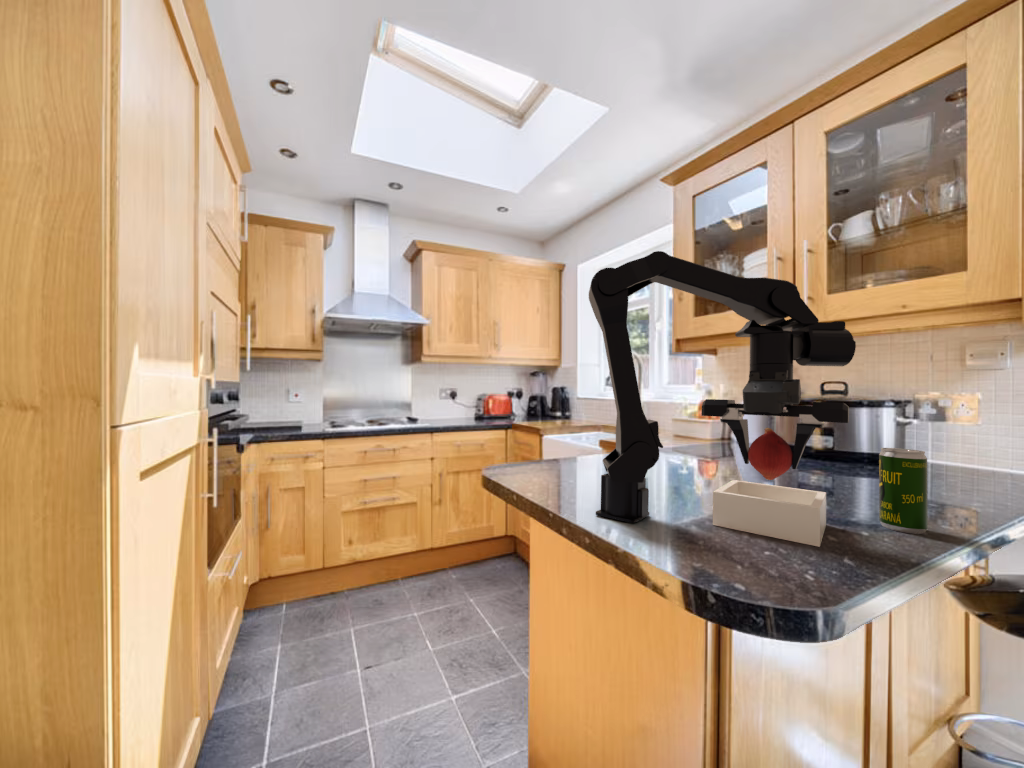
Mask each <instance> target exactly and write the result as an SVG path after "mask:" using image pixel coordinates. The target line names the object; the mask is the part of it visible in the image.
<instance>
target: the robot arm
mask: <svg viewBox="0 0 1024 768" xmlns="http://www.w3.org/2000/svg"><path fill="white" fill-rule="evenodd" d="M653 283H656V284H661V285H663V286H666V287H669V288H672V289H676V290H678V291H682V292H685V293H688V294H691V295H695V296H697V297H701V298H703V299H707V300H710V301H714V302H716V303H720V304H723V305H724V306H726V307H728V308H729V309H731V310H732V311H733V312H734V313H735V314H736V315H738V316H740V317H742V318H744V319H745V320H747V321H746V323H745V324H744V326H743V327H742V328H740V329H739V330H738V331H737V332H735V333H734V334H735V337H736V338H749V373H748V380H747V383H746V384H745V386H744V387H743V389H742V401H743V403H736V400H735V399H713V398H712V399H710V398H706V399H704V401H702V403H701V416H703V417H721V418H720V423H726V424H727V426H728V427H729V428H730V430H731V432H732V434H733V435H734V437H735V440H736V443H737V445H738V447H739V451H740V454H741V455H742V459H743V462H744V464H745V465H748V464H750V461H749V459H748V451H749V448H750V438H749V423H748V422H749V421H748V419H747V418H744V417H745V415H747V416H768V417H769V416H770V417H771V416H772V417H786V418H787V417H789V418H790V417H791V418H792V417H793V418H799V420H800V422H798V423H796V431H795V439H794V446H793V450H792V453H793V458H792V466H791V468H792V470H797V468H798V466H799V463H800V462H801V461H800V460H801V457H802V456H803V453H804V450H805V448H806V446H807V444H808V441H809V440H810V438H811V437H812V435H813V433H814V431H815V430H816V429H823V428H825V423H840V424H848V423H849V422H850V410H849V409H850V407H849V406H848V405H847V404H846V403H844V402H838V401H837V402H836V401H835V402H831V401H829V402H828V401H827V402H826V401H812V405H799V404H801V403H800V402H801V400H802V388H801V379H799V378H798V379H796V378H794V361H795V362H796V363H797V365H799V366H805V367H807V366H808V367H845V366H847V365H848V364H850V362H851V361H852V360H853V358H854V356H855V353H856V348H857V343H856V340H855V339H854V336H853V334H852V333H851V332H850V331H849V329H847V328H846V321H843V320H835V321H829V322H827V321H826V322H825V321H824V322H819V321H820V320H819V317H817V316H816V314H814V312H813V311H812V309H810V308H809V306H808V305H807V303H806V302H805V301H804V300H803V299H802V297H801V293H800V291H799V290H798V286H797V285H796V284H794V283H793V282H791V281H789V280H786V279H776V278H769V277H743V276H738V275H734V274H731V273H728V272H724V271H721V270H718V269H714V268H711V267H708V266H705V265H702V264H699V263H695V262H692V261H688V260H685V259H682V258H679V257H676V256H672V255H670V254H668V253H667V252H665V251H659V250H656V251H652V253H650V254H648V255H645V256H644V257H640V258H637V259H634V260H631V261H627V262H626V263H623V264H621V265H620V266H617V267H615V268H614V267H605V268H602V269H600V270H598V271H597V272H596V273H595V274H594V275H593V277H592V279H591V282H590V287H589V290H588V301H589V303H590V307H591V308H592V312H593V314H594V316H595V319H596V321H597V323H598V326H599V327H600V329H601V332H602V336H603V342H604V347H605V353H606V359H607V363H608V371H609V377H610V381H611V387H612V388H611V389H612V393H613V399H614V404H615V409H616V421H615V447H614V449H613V450H612V451H611V452H609V453H608V454H607V455H606V456H605V457H604V458H603V459H602V463H603V467H604V469H605V472H606V473H603V474H601V476H600V509H598V510H595V515H596V516H599V517H603V518H606V519H607V518H608V519H611V520H617V521H620V522H626V523H630V524H635V523H637V522H639V521H641V520H643V519H644V518H647V517H649V516H650V511H649V497H650V496H649V495H650V494H649V491H650V490H649V488H648V487H646V485H647V478H646V477H647V473H648V470H650V469H652V468H653V467H654V466H655V465H656V464H657V463H658V461H659V459H660V449H663V448H664V446H663V443H662V442H661V440H660V435H659V423H658V421H657V420H653V419H650V418H649V419H648V418H647V416H646V414H645V413H644V409H643V406H642V401H641V395H640V390H639V385H638V379H637V372H636V369H635V362H634V357H633V353H632V352H633V351H632V346H631V341H630V335H629V330H628V324H627V323H628V313H629V311H628V310H629V297H630V296H633V295H634V294H635V293H638V292H639V291H641V290H642V289H644V288H646V287H648V286H650V285H652V284H653ZM786 318H789V319H786ZM784 408H785V409H784Z"/></svg>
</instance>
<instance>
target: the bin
mask: <svg viewBox="0 0 1024 768" xmlns="http://www.w3.org/2000/svg"><path fill="white" fill-rule="evenodd" d="M712 525H713V526H716V527H722V528H726V529H732V530H736V531H741V532H746V533H752V534H756V535H760V536H765V537H771V538H776V539H780V540H784V541H785V540H786V541H790V542H795V543H800V544H804V545H808V546H812V547H813V546H815V547H819V548H820V547H821V545H822V541H823V538H824V537H823V536H824V533H825V530H826V527H827V492H825V491H820V490H812V489H811V490H810V489H803V488H795V487H789V486H781V485H775V484H767V483H760V482H754V481H753V482H752V481H751V482H750V481H745V480H737V479H732V480H731V481H729V482H726V483H725V484H724V485H722V486H720V487H719V488H717V489H715V490H714V491H713V492H712Z"/></svg>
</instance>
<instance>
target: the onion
mask: <svg viewBox="0 0 1024 768" xmlns="http://www.w3.org/2000/svg"><path fill="white" fill-rule="evenodd" d="M792 458H793V450H792V449H791V446H790V444H789V443H788V442H787V441H786V440H785V439H784V438H782V436H780V435H778V434H777V433H776V432H775V431H774V430H773V429H772V428H771V427H766V428H764V433H763V434H761V435H759V436H758V437H757V438H756V439H754V440H753V441H752V443H751V444H750V445H749V451H748V459H749V464H750V465H751V466H752V467H753V469H755V470H756V471H757V472H758V473H759V474H760V475H761V476H762V477H763V478H765V480H767V481H773V480H775V479H776V478H778V477H780V476H782V475H784V474H785V473H787V471H790V468H792Z"/></svg>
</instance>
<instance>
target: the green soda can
mask: <svg viewBox="0 0 1024 768" xmlns="http://www.w3.org/2000/svg"><path fill="white" fill-rule="evenodd" d="M880 450H881V451H880V452H879V454H878V459H879V460H878V464H879V465H878V467H879V468H878V472H879V474H878V479H879V480H878V485H879V486H878V491H879V493H878V494H879V495H878V497H879V499H878V500H879V501H878V503H879V504H878V505H879V507H878V508H879V509H878V510H879V512H878V514H879V515H878V516H879V522H880V524H881V526H882V527H883V528H886V529H888V530H892V531H896V532H899V533H907V534H915V535H918V534H919V535H920V534H925V533H926V531H928V527H929V526H928V523H929V522H928V520H929V519H928V517H929V516H928V509H929V508H928V458H927V456H926V451H924V450H918V449H912V448H911V449H910V448H909V449H908V448H898V447H897V448H896V447H881V448H880Z"/></svg>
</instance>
